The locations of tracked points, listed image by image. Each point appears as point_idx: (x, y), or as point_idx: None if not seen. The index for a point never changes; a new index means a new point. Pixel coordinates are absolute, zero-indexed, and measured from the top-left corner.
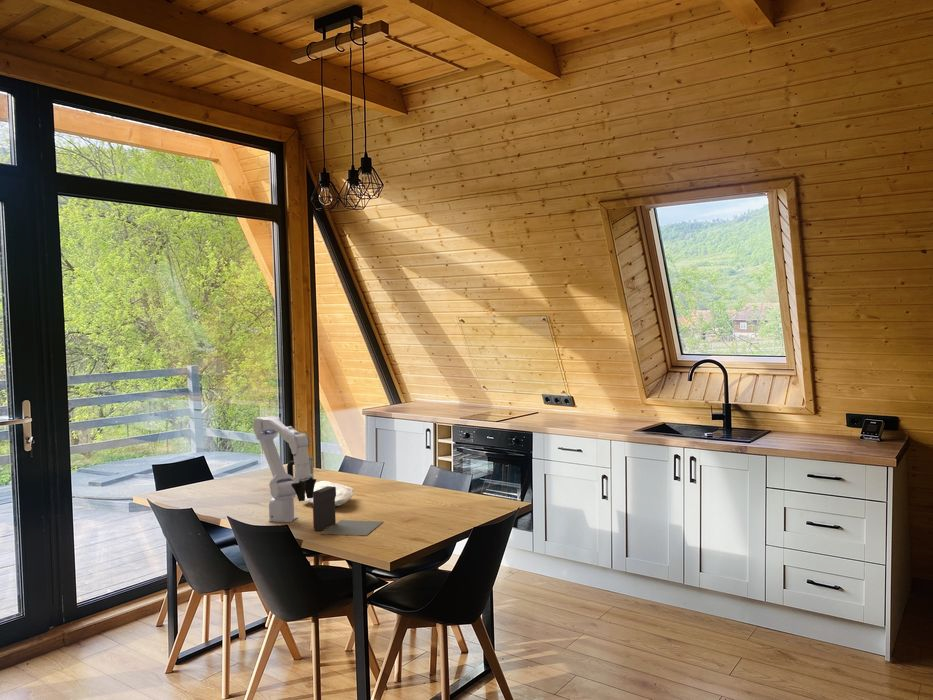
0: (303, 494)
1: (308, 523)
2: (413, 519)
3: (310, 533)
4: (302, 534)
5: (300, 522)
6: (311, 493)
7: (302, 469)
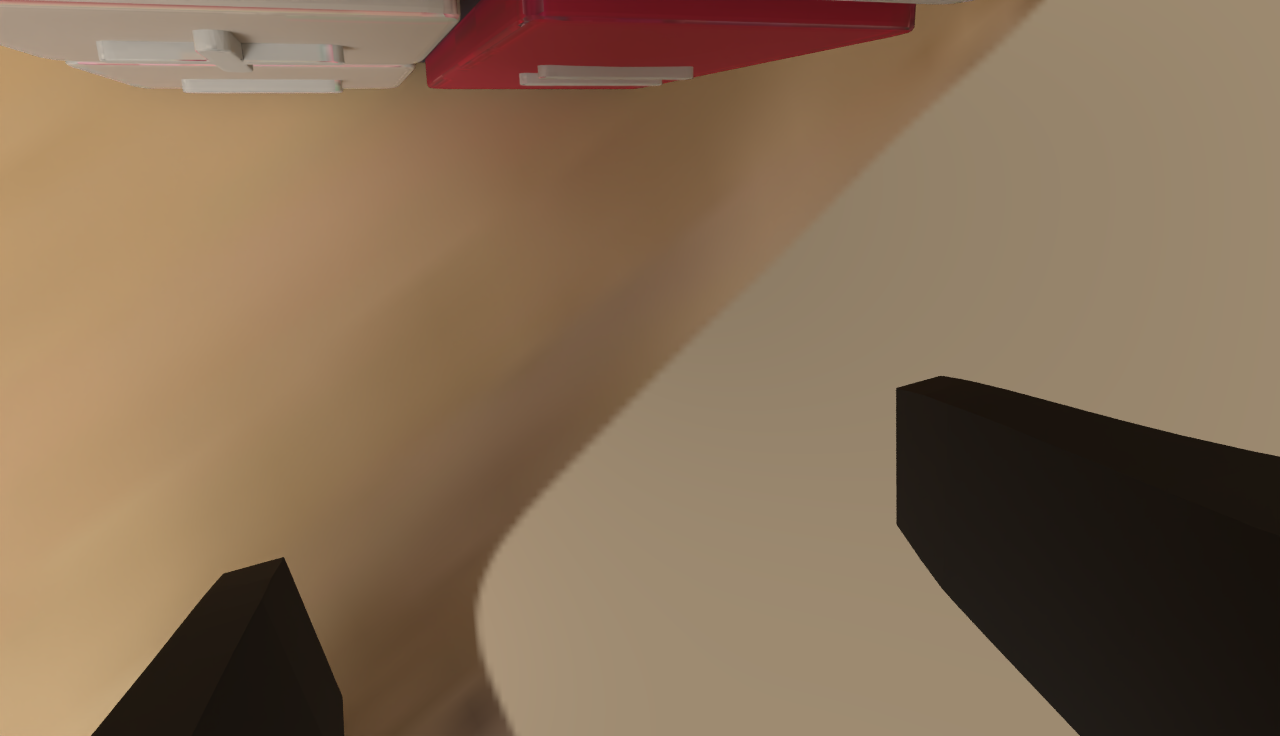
0: (1138, 439)
1: (292, 453)
2: None
3: None
4: (859, 123)
5: None
6: (256, 692)
7: None
